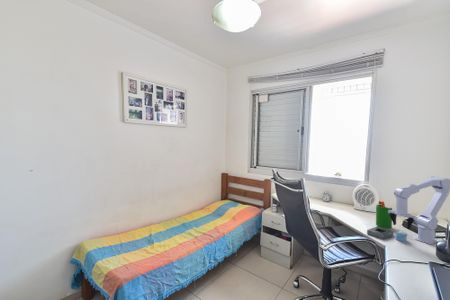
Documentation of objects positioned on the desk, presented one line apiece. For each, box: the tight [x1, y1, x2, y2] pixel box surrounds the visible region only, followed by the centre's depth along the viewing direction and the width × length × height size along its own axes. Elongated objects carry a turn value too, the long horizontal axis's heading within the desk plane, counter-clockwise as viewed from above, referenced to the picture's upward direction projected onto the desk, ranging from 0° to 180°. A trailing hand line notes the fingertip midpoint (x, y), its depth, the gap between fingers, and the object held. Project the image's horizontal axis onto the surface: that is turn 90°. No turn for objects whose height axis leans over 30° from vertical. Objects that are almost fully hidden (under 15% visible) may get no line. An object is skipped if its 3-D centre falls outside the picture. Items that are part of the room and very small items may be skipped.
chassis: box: [366, 225, 395, 241], centre depth 142 cm, size 14×10×3 cm
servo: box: [395, 230, 408, 243], centre depth 134 cm, size 7×4×6 cm, turn 117°
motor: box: [375, 200, 393, 229], centre depth 157 cm, size 10×9×20 cm
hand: (401, 226), depth 133 cm, fingers open, 7 cm apart
